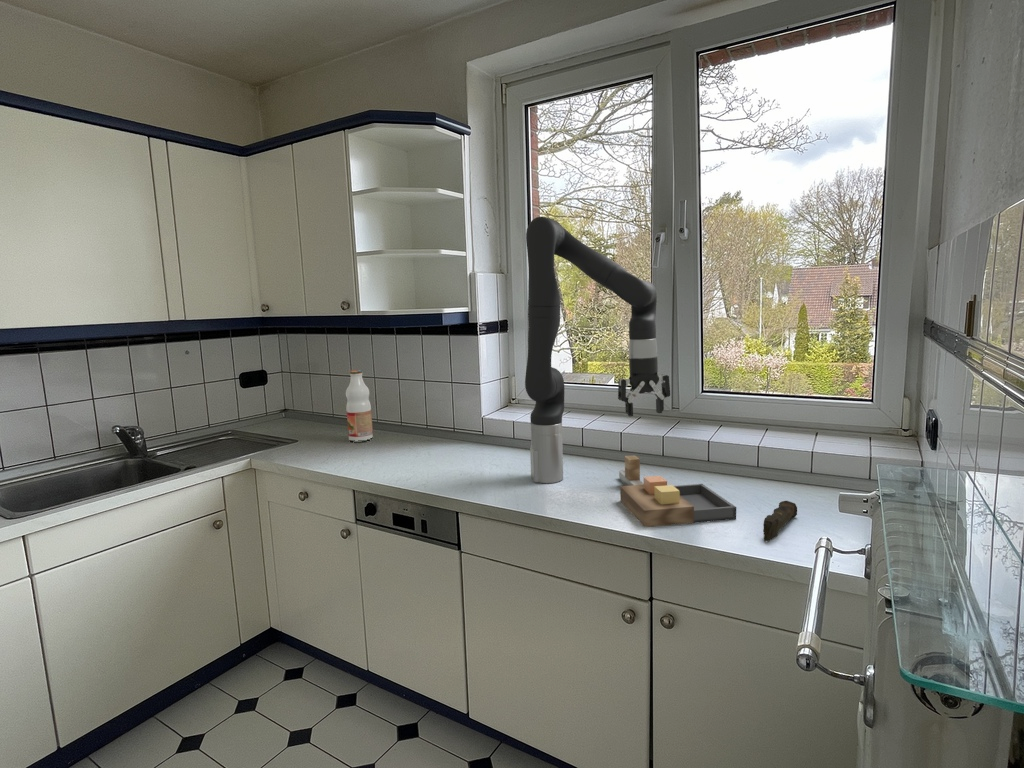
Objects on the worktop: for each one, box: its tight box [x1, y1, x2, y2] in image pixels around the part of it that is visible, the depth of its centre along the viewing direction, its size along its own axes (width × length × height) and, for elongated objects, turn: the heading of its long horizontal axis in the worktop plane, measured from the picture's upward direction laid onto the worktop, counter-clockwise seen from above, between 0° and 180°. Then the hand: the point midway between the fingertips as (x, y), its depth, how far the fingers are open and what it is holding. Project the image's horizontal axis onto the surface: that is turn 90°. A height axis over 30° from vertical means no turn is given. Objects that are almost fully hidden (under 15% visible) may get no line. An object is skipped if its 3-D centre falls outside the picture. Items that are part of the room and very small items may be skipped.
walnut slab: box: [619, 485, 695, 528], centre depth 144 cm, size 12×18×4 cm, turn 7°
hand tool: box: [762, 500, 798, 542], centre depth 131 cm, size 19×4×5 cm, turn 139°
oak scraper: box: [618, 455, 644, 486], centre depth 163 cm, size 3×15×8 cm, turn 7°
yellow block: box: [654, 484, 680, 504], centre depth 139 cm, size 4×4×3 cm
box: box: [673, 483, 737, 524], centre depth 145 cm, size 10×18×3 cm, turn 7°
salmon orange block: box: [643, 475, 668, 494], centre depth 147 cm, size 4×4×3 cm
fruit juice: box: [345, 369, 374, 441], centre depth 229 cm, size 9×9×28 cm
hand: (644, 414), depth 159 cm, fingers open, 8 cm apart
